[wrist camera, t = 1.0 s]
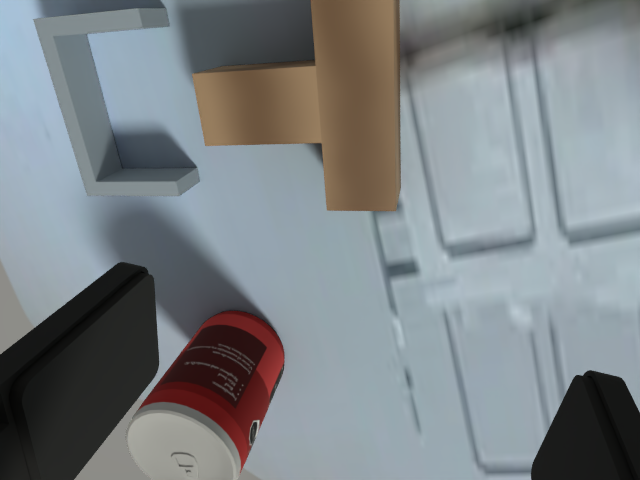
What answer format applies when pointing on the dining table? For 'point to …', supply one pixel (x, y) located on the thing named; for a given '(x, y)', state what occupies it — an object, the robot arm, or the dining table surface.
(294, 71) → the t block
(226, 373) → the canned food
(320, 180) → the dining table surface
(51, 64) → the bracket
